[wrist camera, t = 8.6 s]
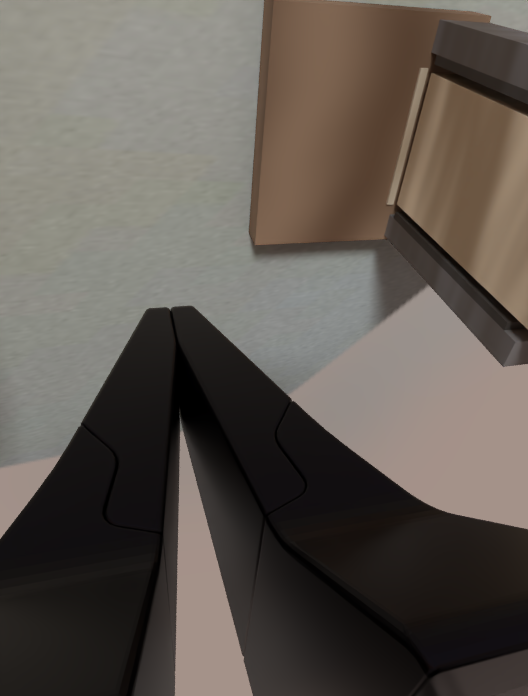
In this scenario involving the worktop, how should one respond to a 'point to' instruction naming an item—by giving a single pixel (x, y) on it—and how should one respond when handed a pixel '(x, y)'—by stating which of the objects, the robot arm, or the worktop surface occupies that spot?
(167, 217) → the worktop surface
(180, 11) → the worktop surface
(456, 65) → the wooden phone stand
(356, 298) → the worktop surface
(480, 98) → the curved wooden panel
